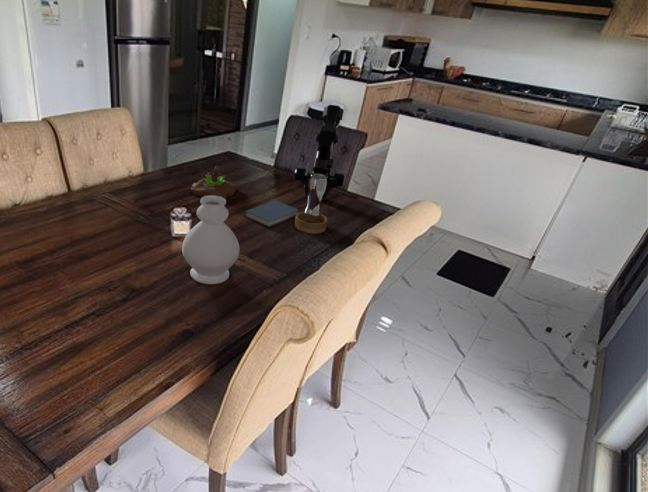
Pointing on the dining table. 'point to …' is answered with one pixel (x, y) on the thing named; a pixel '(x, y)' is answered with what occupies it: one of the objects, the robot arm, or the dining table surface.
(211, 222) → the decorative vase
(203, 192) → the plant
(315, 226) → the wooden bowl
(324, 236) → the dining table surface
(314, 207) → the beer glass
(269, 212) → the book
